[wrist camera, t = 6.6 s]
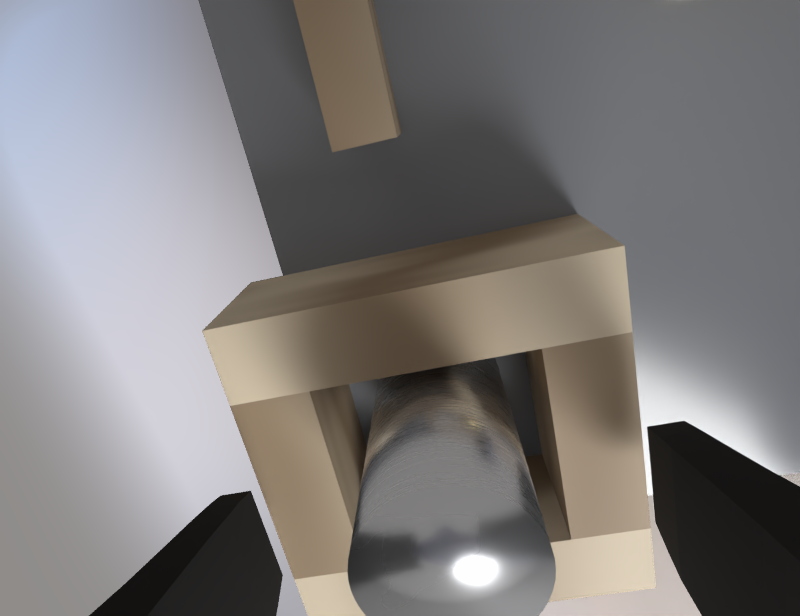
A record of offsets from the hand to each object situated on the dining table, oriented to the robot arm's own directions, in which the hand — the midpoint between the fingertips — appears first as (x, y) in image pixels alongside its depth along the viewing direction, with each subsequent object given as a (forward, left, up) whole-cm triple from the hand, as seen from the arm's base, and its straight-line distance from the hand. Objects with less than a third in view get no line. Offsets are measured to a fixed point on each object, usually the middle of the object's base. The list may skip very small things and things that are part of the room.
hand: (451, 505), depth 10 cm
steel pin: (0, 0, -4) cm, 4 cm away
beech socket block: (0, 0, -4) cm, 4 cm away
